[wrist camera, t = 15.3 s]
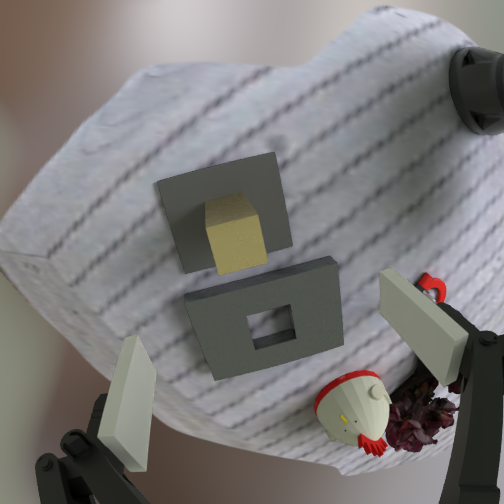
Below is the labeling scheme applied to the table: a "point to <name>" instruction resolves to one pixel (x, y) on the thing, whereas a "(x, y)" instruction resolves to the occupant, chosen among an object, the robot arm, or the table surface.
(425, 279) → the tow hook
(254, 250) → the brass plug
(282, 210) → the rubber mat
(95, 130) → the table surface
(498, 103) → the robot arm
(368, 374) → the kitchen timer
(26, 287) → the table surface
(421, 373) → the flower arrangement
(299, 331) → the socket plate
